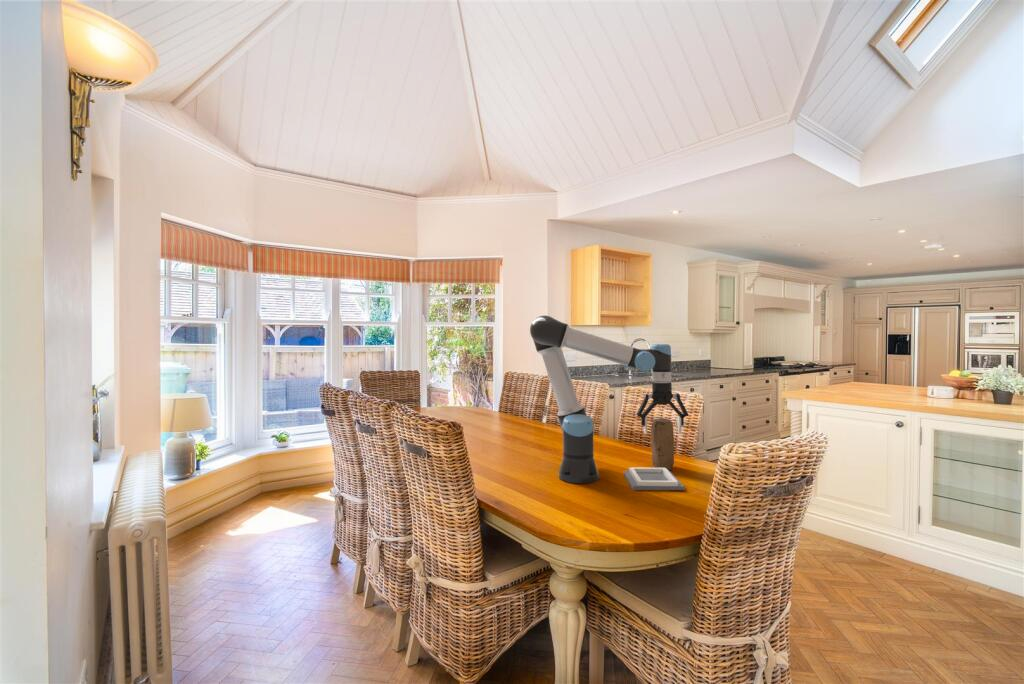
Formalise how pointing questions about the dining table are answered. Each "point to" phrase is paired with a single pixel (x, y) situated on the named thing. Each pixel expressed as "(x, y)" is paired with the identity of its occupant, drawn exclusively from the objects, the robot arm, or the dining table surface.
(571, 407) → the robot arm
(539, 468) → the dining table surface
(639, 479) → the base plate
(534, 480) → the dining table surface
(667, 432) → the block
